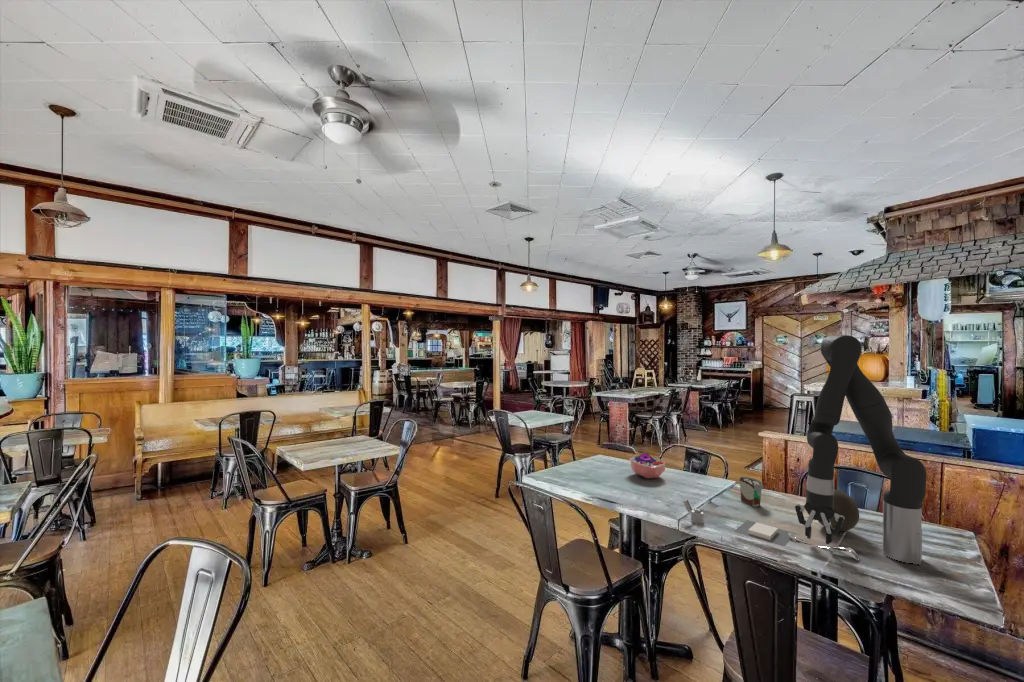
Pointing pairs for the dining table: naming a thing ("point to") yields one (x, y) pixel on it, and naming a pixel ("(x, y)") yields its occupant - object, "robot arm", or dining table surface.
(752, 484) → the food container
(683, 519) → the dining table surface
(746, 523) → the mat
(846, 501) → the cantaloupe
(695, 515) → the lighter
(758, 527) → the tile
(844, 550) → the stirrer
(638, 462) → the cell model
